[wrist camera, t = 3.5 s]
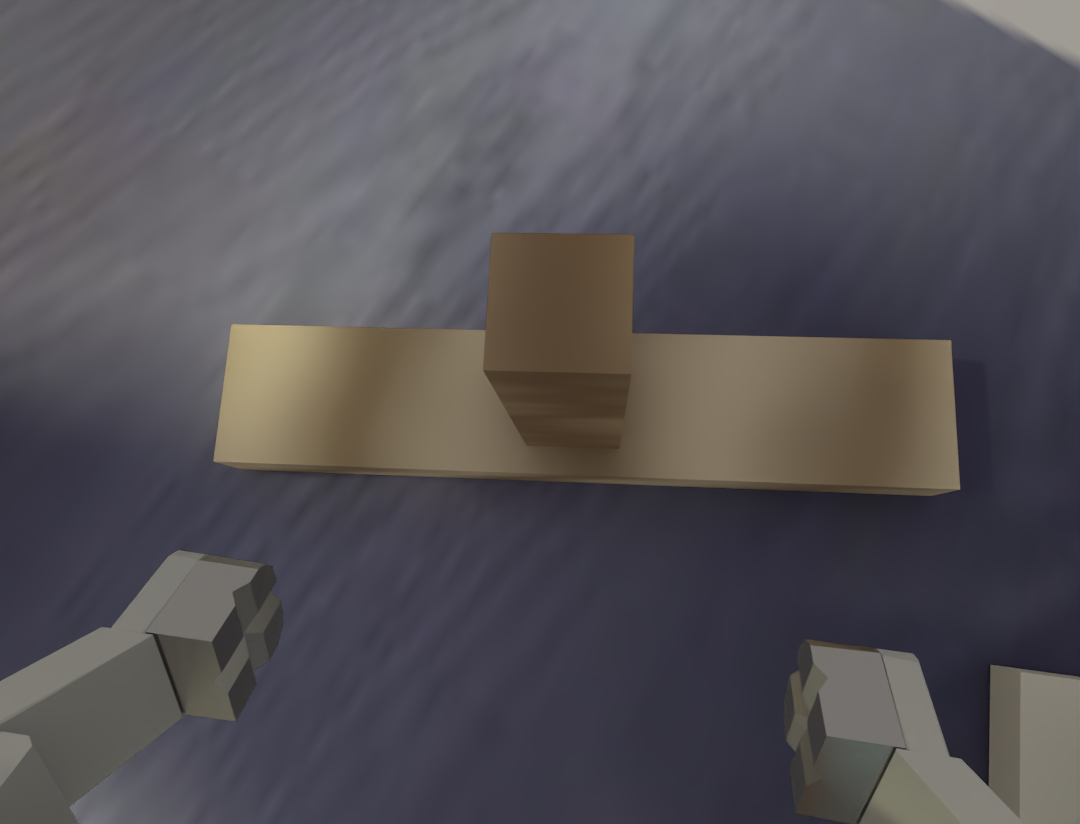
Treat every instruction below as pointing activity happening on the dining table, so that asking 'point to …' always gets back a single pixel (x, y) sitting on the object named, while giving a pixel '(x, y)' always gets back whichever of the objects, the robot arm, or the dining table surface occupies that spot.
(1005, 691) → the fulcrum stand
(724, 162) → the dining table surface
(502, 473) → the balance bar
